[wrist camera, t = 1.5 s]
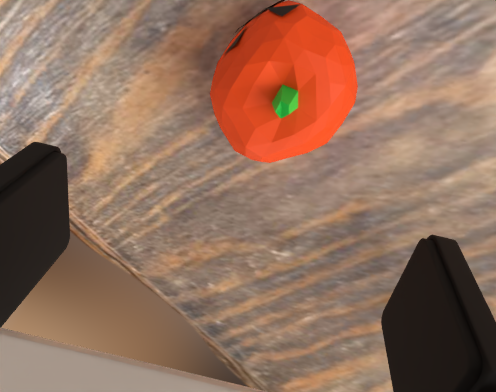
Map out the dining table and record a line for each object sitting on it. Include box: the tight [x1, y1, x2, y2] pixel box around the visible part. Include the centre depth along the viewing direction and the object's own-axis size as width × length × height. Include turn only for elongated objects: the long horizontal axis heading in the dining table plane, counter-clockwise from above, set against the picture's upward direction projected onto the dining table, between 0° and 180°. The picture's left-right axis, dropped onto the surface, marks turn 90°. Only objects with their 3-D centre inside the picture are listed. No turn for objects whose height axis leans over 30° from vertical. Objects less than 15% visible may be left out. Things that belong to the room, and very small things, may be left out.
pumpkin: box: [210, 0, 358, 163], centre depth 21 cm, size 7×8×6 cm
